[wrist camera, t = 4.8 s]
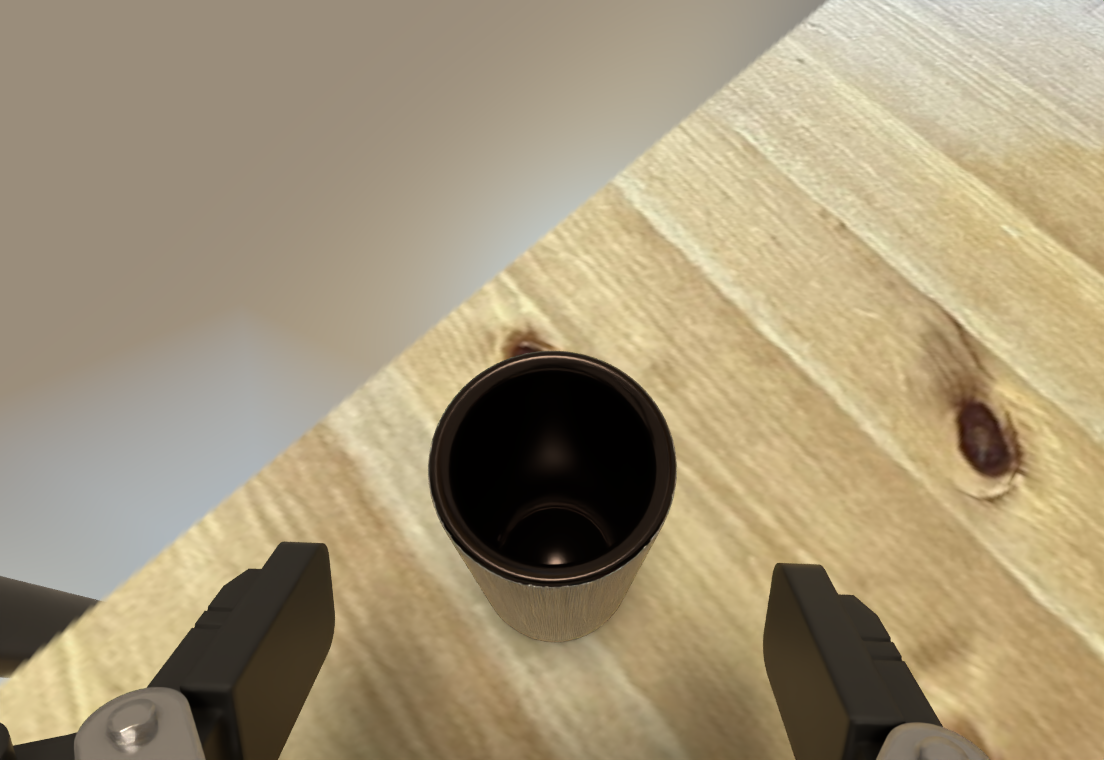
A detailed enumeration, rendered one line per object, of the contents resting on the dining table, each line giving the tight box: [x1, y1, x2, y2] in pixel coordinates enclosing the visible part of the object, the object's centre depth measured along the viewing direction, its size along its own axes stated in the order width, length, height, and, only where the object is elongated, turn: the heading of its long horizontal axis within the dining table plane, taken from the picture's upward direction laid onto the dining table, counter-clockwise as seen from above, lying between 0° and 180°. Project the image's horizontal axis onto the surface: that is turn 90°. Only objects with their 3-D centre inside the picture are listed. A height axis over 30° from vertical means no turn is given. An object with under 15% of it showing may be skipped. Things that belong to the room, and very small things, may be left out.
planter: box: [428, 351, 677, 642], centre depth 18 cm, size 4×4×10 cm
